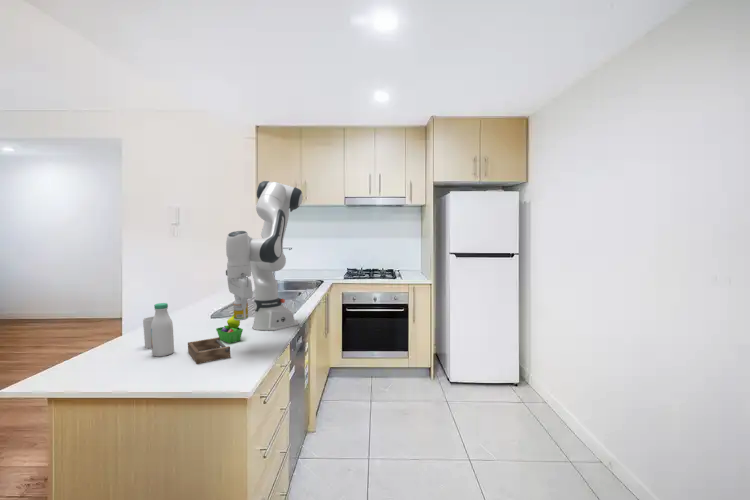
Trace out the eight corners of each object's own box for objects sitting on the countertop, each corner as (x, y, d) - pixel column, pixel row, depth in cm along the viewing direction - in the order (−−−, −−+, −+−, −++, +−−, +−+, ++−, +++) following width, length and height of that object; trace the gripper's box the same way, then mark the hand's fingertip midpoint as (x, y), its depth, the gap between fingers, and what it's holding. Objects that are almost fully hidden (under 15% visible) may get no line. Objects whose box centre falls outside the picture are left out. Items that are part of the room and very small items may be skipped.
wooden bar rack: (219, 346, 163) (218, 336, 163) (230, 357, 149) (230, 347, 149) (187, 351, 156) (187, 342, 156) (197, 364, 142) (196, 353, 142)
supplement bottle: (243, 316, 159) (242, 293, 158) (250, 318, 156) (250, 294, 155) (231, 319, 155) (230, 295, 154) (238, 321, 151) (237, 296, 151)
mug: (157, 348, 161) (156, 319, 160) (140, 348, 161) (139, 320, 160) (169, 341, 171) (168, 314, 171) (154, 341, 171) (152, 314, 170)
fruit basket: (215, 339, 173) (214, 314, 173) (234, 335, 180) (233, 311, 179) (227, 344, 166) (226, 318, 165) (246, 340, 172) (246, 314, 171)
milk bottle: (178, 351, 157) (176, 302, 156) (162, 357, 150) (160, 306, 148) (163, 349, 160) (161, 301, 158) (147, 355, 152) (145, 305, 151)
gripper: (255, 274, 147) (257, 310, 148) (239, 269, 164) (241, 301, 165) (238, 275, 144) (240, 312, 145) (224, 270, 160) (226, 303, 161)
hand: (241, 306), depth 155 cm, fingers closed on supplement bottle, 5 cm apart
